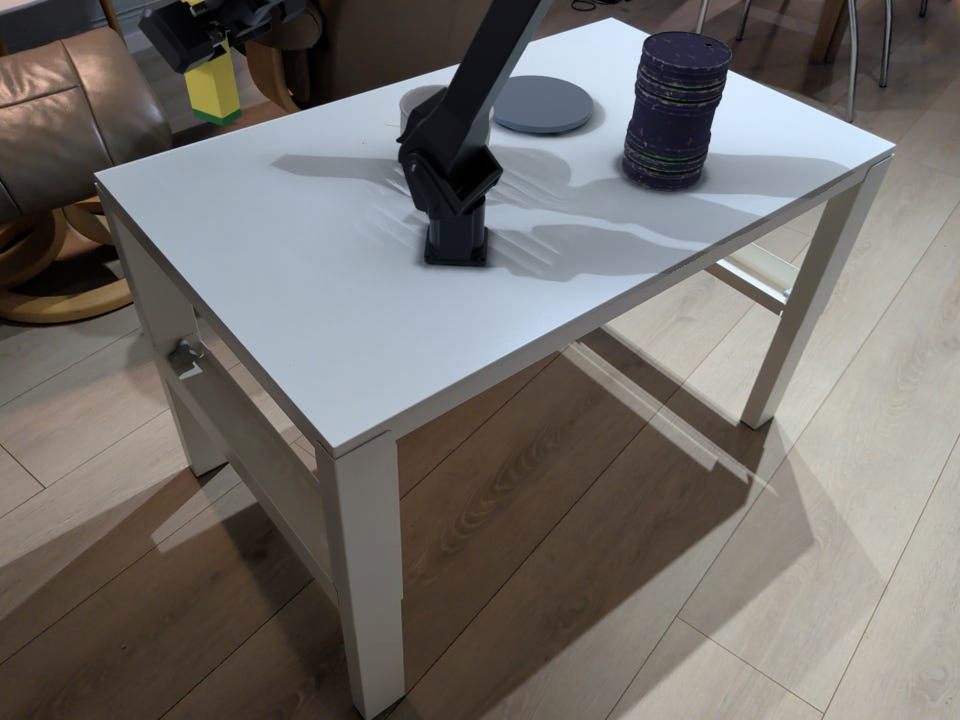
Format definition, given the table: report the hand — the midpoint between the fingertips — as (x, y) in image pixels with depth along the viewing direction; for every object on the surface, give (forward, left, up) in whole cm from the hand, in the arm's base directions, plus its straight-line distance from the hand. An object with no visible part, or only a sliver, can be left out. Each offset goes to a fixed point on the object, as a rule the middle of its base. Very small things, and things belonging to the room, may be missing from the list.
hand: (196, 55), depth 87 cm
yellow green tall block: (-1, -1, -7) cm, 7 cm away
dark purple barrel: (+2, -53, -13) cm, 55 cm away
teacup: (-1, -26, -13) cm, 29 cm away
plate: (+16, -38, -12) cm, 44 cm away
